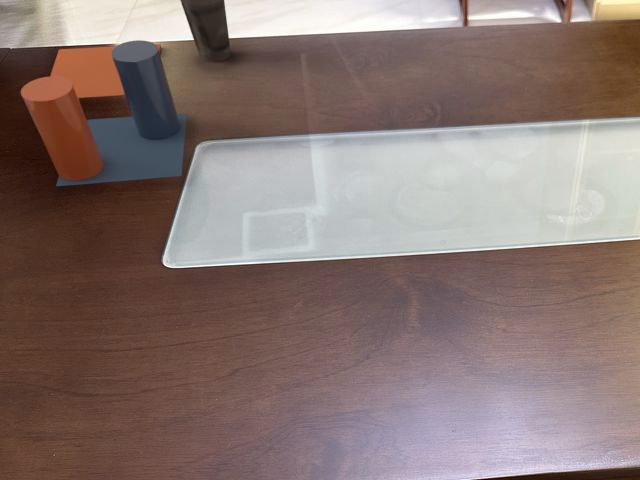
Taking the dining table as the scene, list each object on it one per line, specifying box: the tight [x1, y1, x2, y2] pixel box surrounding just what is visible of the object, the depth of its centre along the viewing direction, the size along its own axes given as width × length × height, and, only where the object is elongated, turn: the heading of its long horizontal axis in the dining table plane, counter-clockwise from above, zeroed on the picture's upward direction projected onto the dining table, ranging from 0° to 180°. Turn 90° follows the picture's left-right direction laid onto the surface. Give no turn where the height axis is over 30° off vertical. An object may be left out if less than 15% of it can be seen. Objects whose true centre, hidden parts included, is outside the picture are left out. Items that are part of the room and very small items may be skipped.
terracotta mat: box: [49, 43, 162, 99], centre depth 108 cm, size 15×15×1 cm
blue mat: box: [55, 112, 188, 187], centre depth 96 cm, size 15×15×1 cm
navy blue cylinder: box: [111, 39, 180, 140], centre depth 95 cm, size 6×6×11 cm
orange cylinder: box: [20, 76, 104, 181], centre depth 88 cm, size 6×6×11 cm
